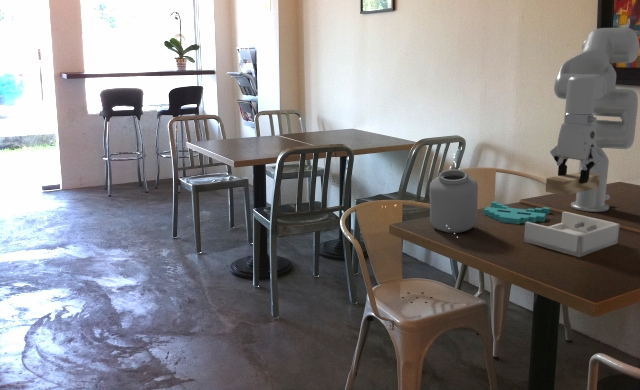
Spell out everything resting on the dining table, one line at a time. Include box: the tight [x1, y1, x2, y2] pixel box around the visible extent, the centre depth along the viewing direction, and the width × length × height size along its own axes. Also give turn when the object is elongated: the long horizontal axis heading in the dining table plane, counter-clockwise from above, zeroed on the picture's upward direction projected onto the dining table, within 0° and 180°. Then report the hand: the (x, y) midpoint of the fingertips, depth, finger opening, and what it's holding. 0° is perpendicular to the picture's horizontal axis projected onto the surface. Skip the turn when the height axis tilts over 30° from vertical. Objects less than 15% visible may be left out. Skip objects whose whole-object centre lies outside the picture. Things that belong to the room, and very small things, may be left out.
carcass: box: [523, 210, 620, 258], centre depth 188 cm, size 20×18×6 cm
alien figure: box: [483, 201, 551, 225], centre depth 218 cm, size 20×2×20 cm
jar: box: [429, 153, 479, 238], centre depth 199 cm, size 19×15×25 cm
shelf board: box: [545, 171, 600, 197], centre depth 185 cm, size 16×6×4 cm, turn 121°
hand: (572, 180), depth 185 cm, fingers closed on shelf board, 6 cm apart
